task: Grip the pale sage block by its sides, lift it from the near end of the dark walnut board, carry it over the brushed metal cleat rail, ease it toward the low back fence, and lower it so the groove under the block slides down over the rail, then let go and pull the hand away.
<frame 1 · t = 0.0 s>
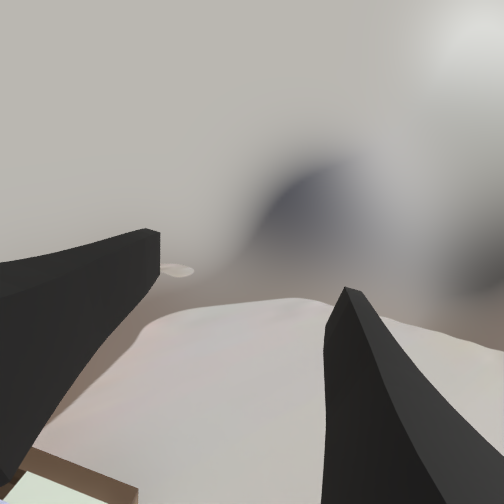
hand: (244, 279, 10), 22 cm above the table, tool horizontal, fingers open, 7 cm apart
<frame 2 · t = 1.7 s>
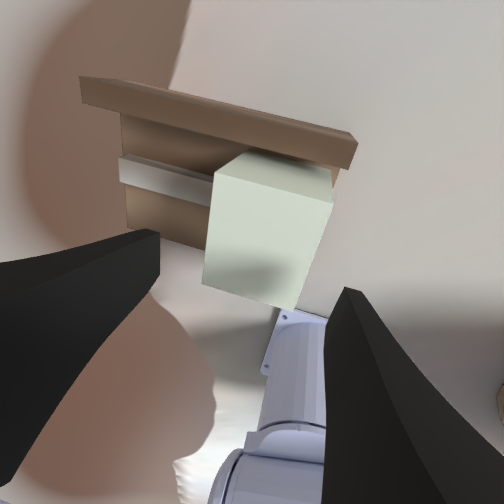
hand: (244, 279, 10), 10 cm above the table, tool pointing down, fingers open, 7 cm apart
cleat board: (225, 184, 19), on the table
sage block: (276, 205, 17), point 1 cm above the table, touching cleat board
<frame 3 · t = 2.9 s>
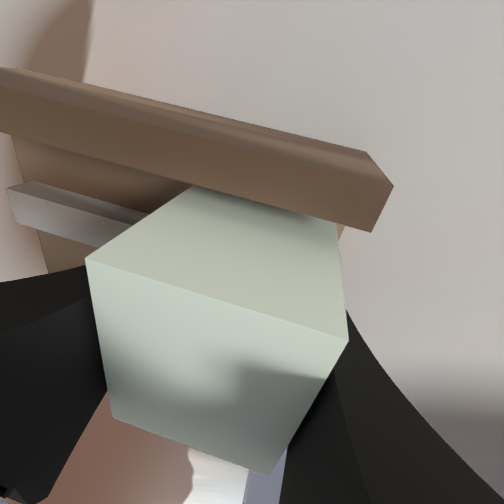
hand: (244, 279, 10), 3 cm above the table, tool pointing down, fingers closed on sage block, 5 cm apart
cleat board: (181, 222, 13), on the table
sage block: (252, 260, 11), point 1 cm above the table, touching cleat board, gripper
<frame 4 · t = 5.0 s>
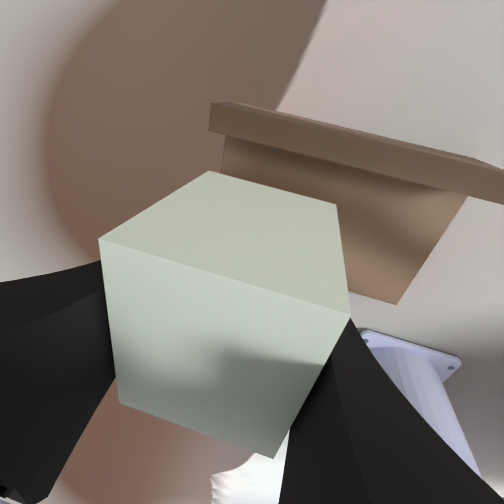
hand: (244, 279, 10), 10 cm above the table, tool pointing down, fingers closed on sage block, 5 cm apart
cleat board: (322, 207, 18), on the table
sage block: (255, 252, 12), point 8 cm above the table, touching gripper
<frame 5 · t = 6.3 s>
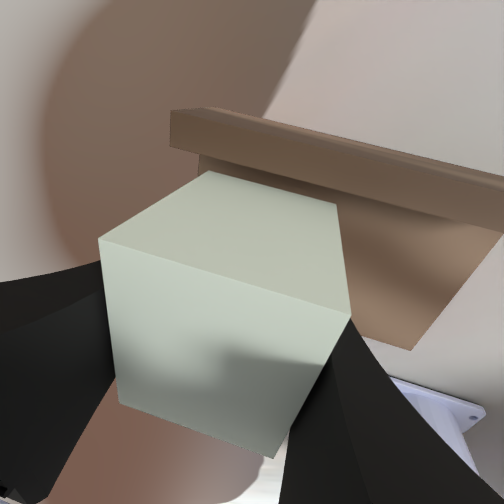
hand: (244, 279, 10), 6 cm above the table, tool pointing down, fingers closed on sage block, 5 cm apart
cleat board: (322, 234, 15), on the table
sage block: (255, 252, 12), point 4 cm above the table, touching gripper
when the fingers open (4 cm above the table, at t = 7.3 s): sage block stays where it is, resting on cleat board.
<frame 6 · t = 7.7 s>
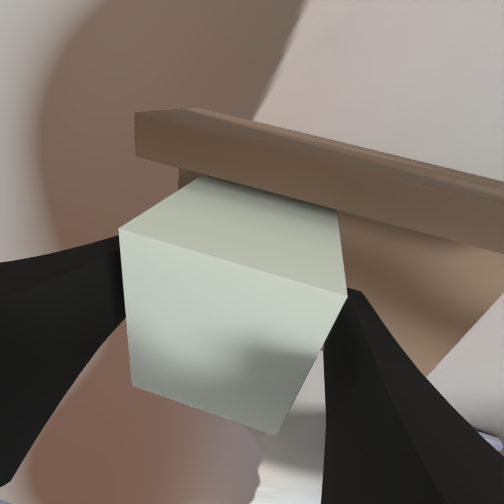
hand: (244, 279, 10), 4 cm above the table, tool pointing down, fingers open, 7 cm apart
cleat board: (321, 251, 13), on the table
sage block: (258, 246, 12), point 1 cm above the table, touching cleat board
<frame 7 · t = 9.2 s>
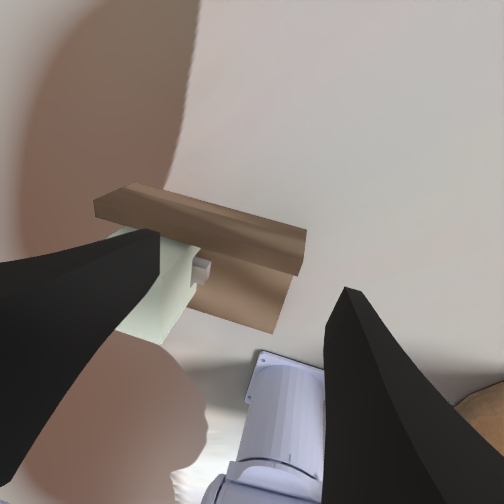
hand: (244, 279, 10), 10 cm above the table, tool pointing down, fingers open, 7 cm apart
cleat board: (210, 258, 23), on the table
sage block: (170, 255, 22), point 1 cm above the table, touching cleat board
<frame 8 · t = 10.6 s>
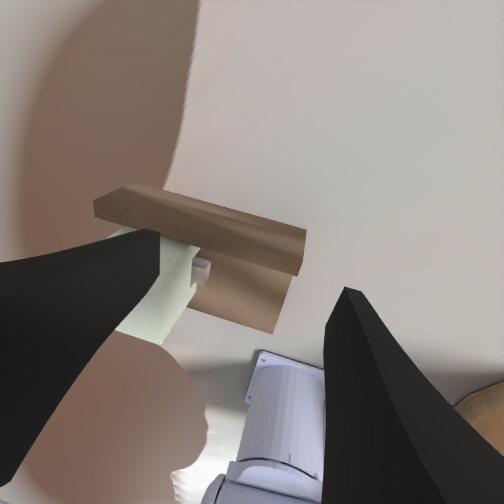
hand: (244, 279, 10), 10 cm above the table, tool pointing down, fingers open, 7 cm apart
cleat board: (210, 258, 23), on the table
sage block: (170, 255, 22), point 1 cm above the table, touching cleat board
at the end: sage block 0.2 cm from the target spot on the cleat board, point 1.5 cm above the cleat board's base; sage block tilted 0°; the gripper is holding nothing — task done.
